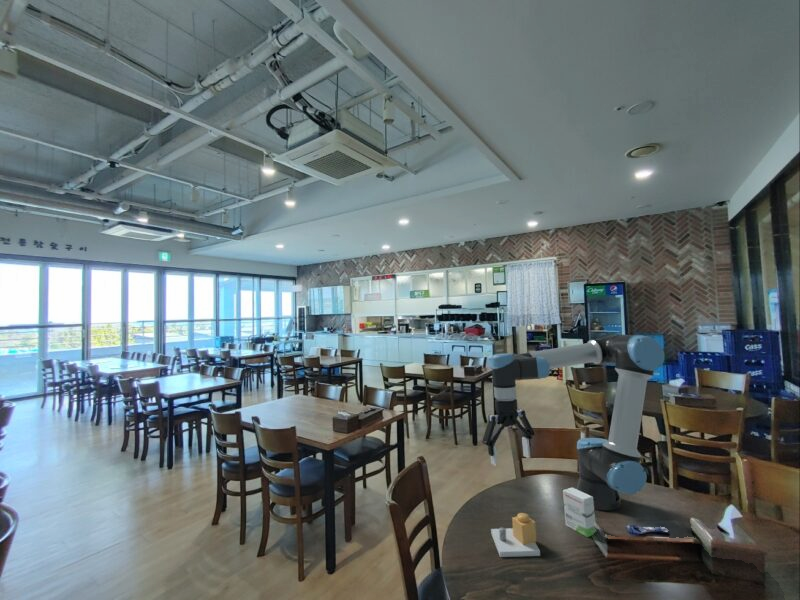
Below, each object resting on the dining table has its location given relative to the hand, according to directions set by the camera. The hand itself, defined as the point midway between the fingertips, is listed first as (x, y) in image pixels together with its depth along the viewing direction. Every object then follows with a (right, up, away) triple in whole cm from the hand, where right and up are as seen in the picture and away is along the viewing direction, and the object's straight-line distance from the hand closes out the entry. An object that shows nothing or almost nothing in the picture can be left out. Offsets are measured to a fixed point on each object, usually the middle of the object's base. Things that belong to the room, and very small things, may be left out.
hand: (511, 461), depth 123 cm
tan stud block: (+1, -20, -9) cm, 23 cm away
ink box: (+22, -22, -3) cm, 31 cm away
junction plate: (-2, -22, -10) cm, 24 cm away
